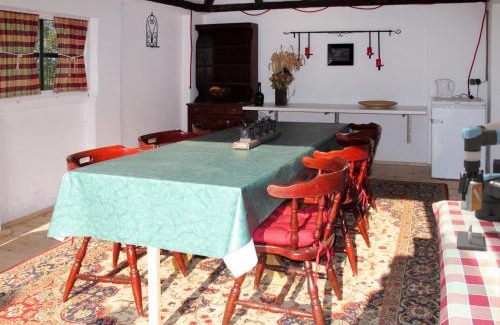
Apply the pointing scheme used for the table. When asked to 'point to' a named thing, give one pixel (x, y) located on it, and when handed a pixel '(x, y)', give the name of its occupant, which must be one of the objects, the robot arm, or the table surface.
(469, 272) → the table surface
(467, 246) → the pin tray
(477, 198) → the small box
